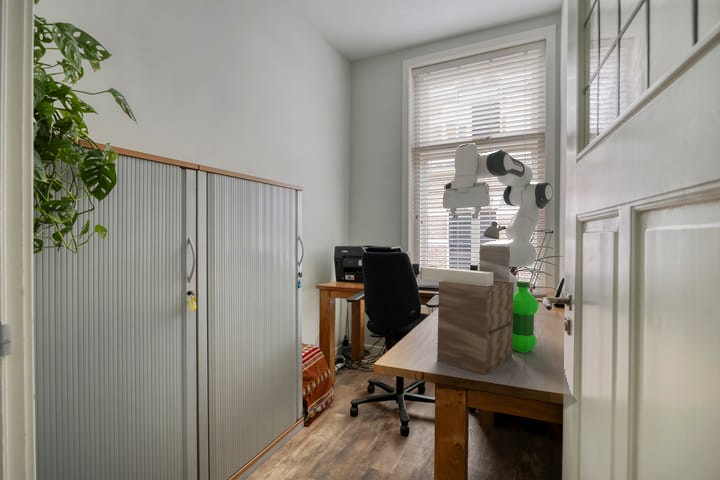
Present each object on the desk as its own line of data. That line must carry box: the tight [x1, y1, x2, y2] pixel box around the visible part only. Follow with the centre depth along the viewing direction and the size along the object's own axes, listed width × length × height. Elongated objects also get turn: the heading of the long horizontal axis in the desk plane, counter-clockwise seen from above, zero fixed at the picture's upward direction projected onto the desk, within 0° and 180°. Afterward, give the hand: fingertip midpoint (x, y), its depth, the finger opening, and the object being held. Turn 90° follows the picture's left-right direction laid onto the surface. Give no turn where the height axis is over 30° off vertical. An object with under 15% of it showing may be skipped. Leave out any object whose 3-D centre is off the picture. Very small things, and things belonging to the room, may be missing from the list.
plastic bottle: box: [512, 280, 540, 354], centre depth 126 cm, size 10×10×25 cm
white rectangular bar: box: [420, 266, 493, 287], centre depth 115 cm, size 5×24×4 cm, turn 46°
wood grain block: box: [436, 245, 514, 376], centre depth 116 cm, size 22×16×38 cm
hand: (464, 219), depth 138 cm, fingers open, 8 cm apart
